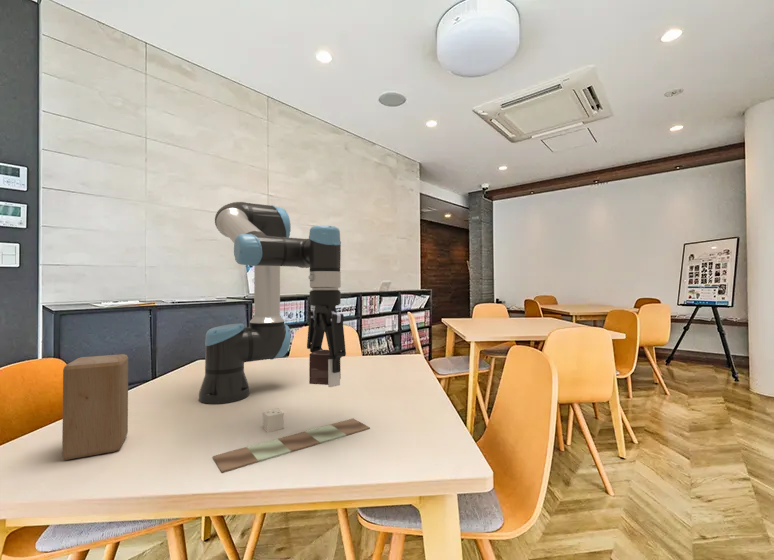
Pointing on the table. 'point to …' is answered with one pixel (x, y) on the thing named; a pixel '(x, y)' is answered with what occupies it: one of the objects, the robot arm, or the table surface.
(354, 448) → the table surface
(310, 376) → the box
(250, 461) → the track
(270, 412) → the die
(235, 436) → the table surface
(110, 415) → the wooden block
